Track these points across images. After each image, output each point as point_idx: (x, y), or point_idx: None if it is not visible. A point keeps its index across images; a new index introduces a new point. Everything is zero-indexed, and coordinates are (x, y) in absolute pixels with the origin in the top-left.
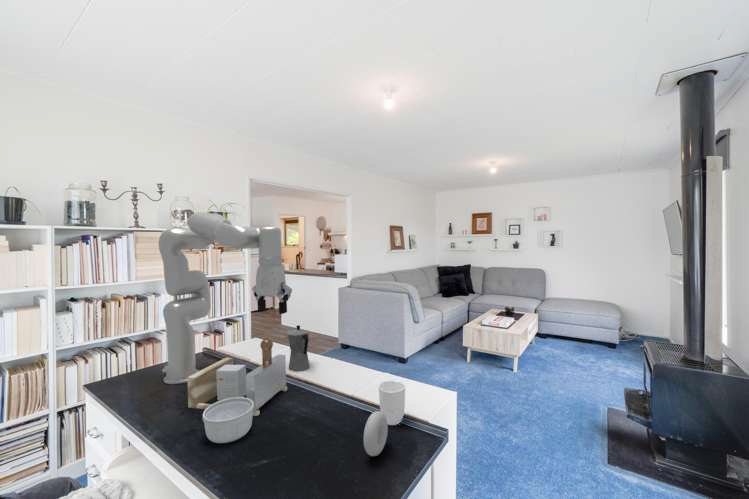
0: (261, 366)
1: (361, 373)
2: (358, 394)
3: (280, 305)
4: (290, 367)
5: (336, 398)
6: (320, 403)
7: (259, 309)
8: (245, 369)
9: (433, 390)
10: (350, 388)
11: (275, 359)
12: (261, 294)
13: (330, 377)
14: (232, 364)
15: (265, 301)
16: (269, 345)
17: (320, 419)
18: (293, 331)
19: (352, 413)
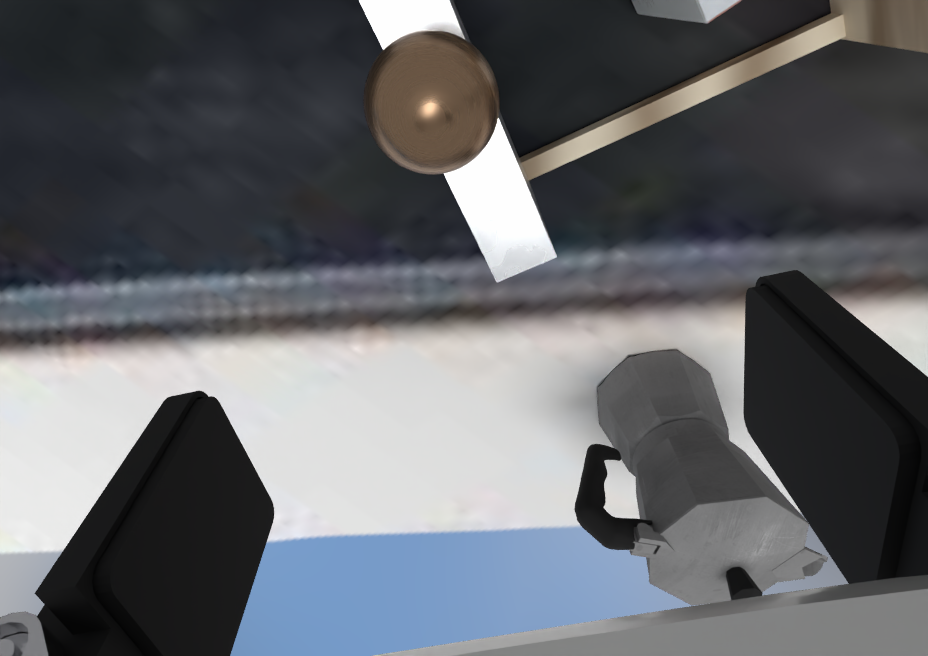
0: (429, 7)
1: (337, 500)
2: (168, 366)
3: (91, 528)
4: (669, 359)
5: (203, 286)
6: (211, 208)
7: (772, 305)
8: (687, 13)
9: (4, 536)
10: (245, 384)
11: (476, 180)
12: (779, 652)
13: (416, 406)
14: (925, 40)
15: (842, 568)
16: (364, 98)
17: (63, 103)
18: (754, 541)
19: (24, 235)
